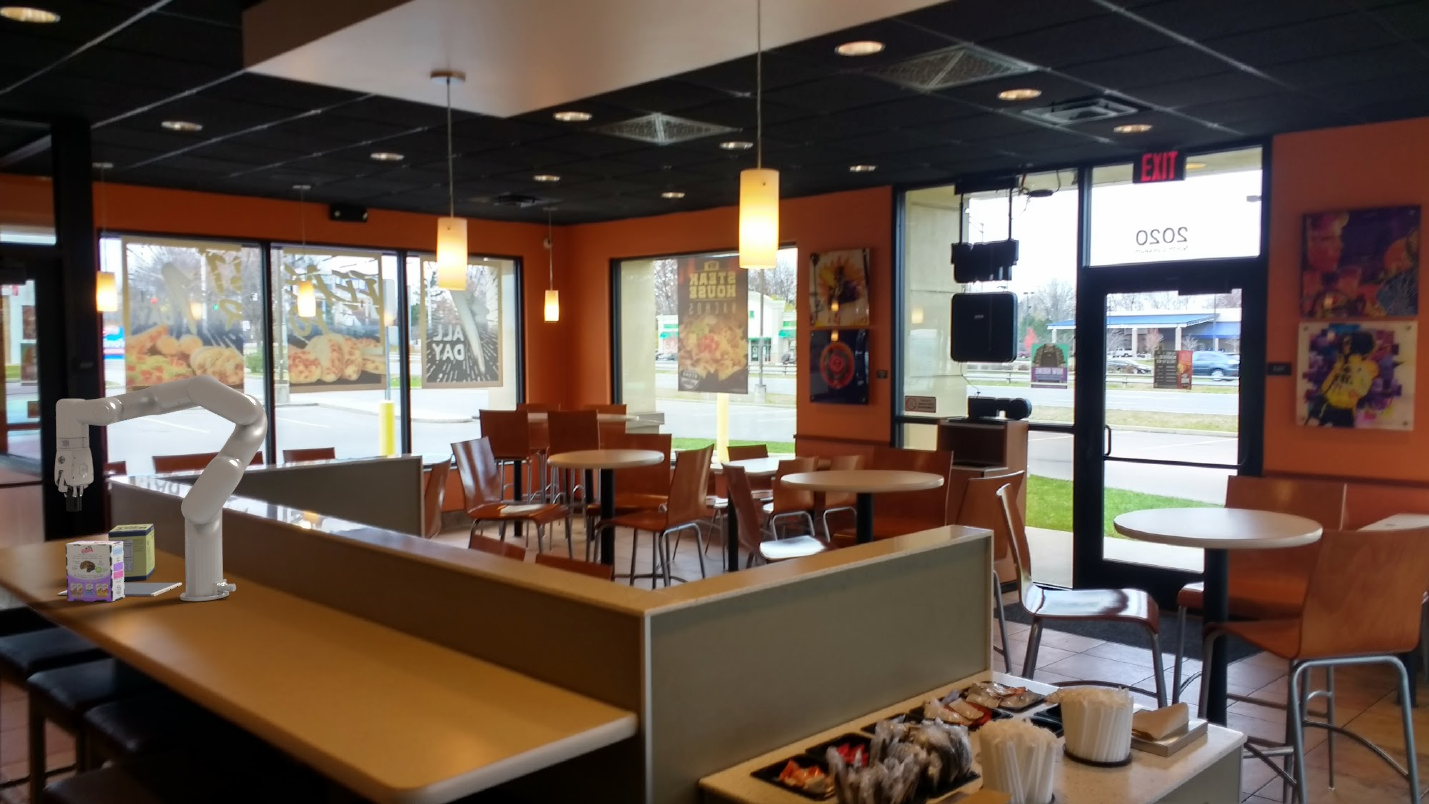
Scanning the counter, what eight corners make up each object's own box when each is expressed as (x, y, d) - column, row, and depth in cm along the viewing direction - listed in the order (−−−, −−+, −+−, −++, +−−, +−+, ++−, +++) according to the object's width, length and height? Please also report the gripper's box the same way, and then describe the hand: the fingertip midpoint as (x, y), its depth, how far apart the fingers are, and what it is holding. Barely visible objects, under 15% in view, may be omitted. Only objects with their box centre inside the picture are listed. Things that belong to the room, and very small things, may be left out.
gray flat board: (182, 584, 312) (182, 582, 312) (153, 596, 297) (153, 594, 297) (90, 584, 313) (90, 582, 313) (57, 595, 298) (57, 593, 298)
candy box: (126, 597, 295) (124, 540, 295) (112, 602, 289) (110, 544, 289) (80, 596, 297) (79, 539, 296) (65, 601, 291) (64, 543, 290)
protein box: (155, 570, 333) (154, 522, 333) (147, 580, 319) (146, 530, 318) (118, 573, 330) (117, 524, 329) (108, 583, 315) (107, 532, 315)
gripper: (68, 446, 275) (69, 515, 276) (103, 442, 290) (104, 507, 291) (40, 446, 275) (41, 514, 276) (76, 441, 290) (77, 507, 291)
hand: (73, 510), depth 284 cm, fingers closed
